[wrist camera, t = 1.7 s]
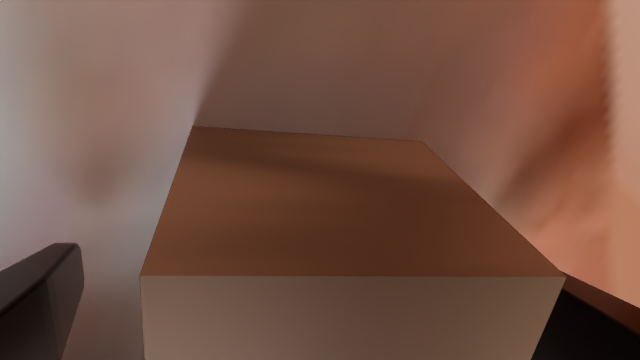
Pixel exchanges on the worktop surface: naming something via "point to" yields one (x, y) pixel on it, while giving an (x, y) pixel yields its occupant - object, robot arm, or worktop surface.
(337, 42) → the worktop surface
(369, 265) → the walnut cube
